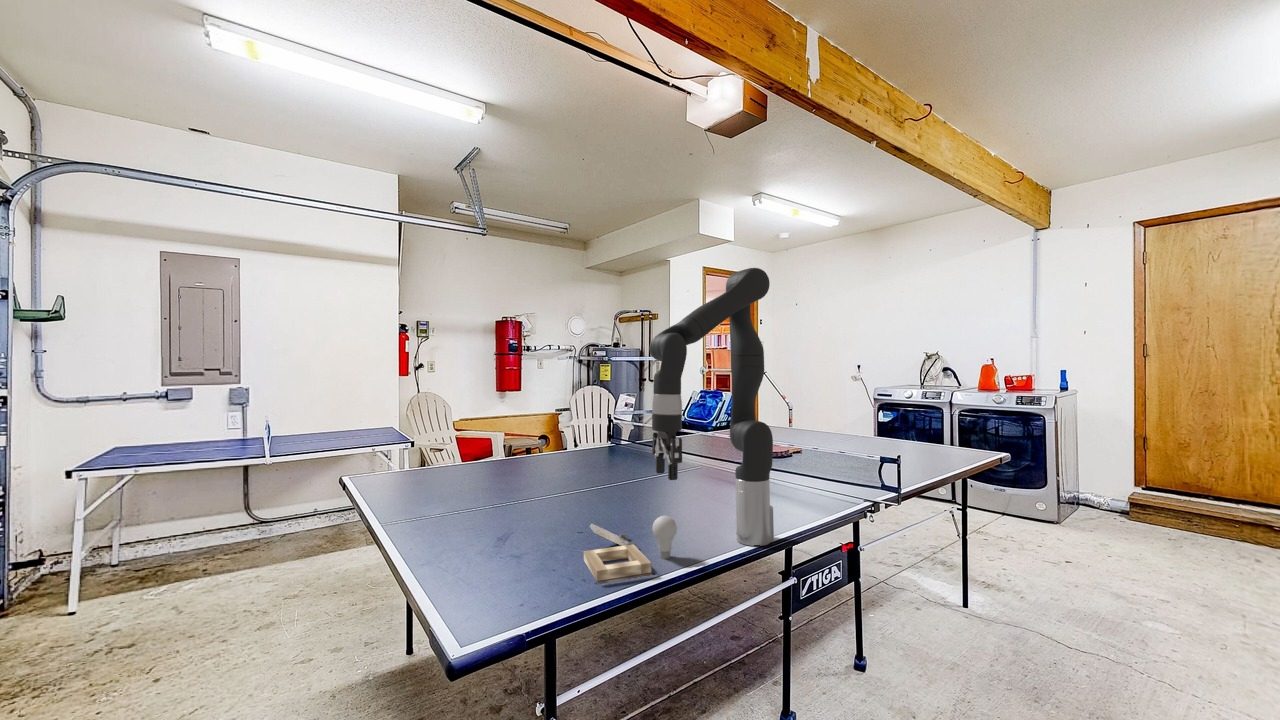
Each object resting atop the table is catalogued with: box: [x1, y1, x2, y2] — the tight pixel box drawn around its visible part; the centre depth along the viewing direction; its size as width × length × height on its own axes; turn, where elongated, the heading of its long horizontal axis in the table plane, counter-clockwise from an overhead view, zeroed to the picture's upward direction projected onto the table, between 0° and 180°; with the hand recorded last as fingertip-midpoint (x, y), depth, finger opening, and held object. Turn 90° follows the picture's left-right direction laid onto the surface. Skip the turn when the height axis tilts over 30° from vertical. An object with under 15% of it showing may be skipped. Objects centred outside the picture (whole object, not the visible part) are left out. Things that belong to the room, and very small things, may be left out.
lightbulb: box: [652, 515, 678, 560], centre depth 125 cm, size 6×6×11 cm
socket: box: [583, 544, 652, 585], centre depth 119 cm, size 13×13×3 cm
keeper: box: [589, 522, 630, 546], centre depth 132 cm, size 12×6×1 cm, turn 109°
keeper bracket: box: [618, 532, 637, 547], centre depth 134 cm, size 2×9×2 cm, turn 19°
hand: (666, 476), depth 125 cm, fingers open, 8 cm apart
